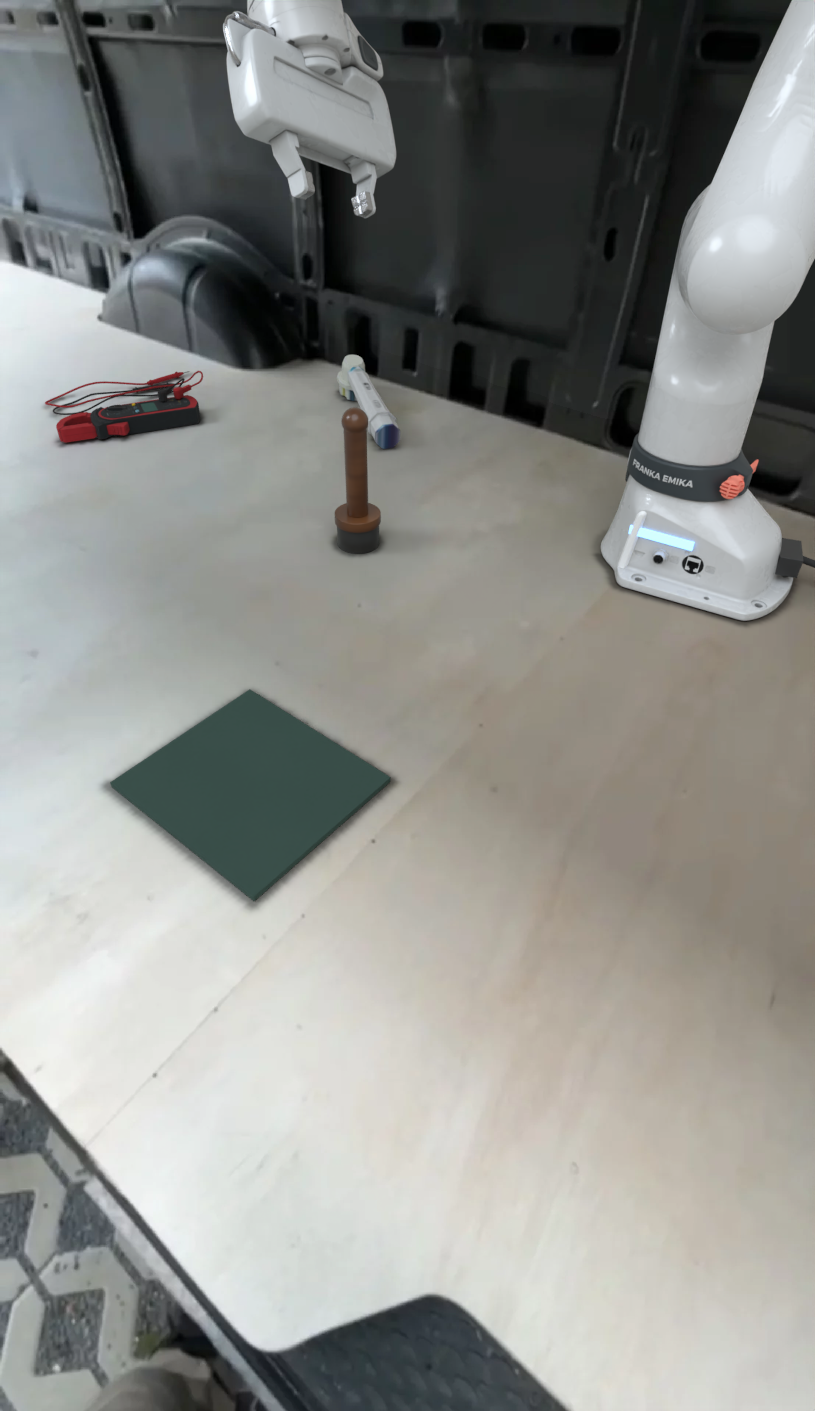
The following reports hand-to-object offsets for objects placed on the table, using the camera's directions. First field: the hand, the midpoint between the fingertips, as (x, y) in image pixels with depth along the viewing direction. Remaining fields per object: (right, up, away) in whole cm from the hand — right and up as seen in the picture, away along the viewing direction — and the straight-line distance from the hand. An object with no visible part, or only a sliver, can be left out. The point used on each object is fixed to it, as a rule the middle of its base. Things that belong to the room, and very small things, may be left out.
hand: (336, 206), depth 77 cm
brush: (+1, -28, +22) cm, 36 cm away
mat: (-7, -56, -8) cm, 57 cm away
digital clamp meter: (-38, -1, +52) cm, 64 cm away
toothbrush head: (+1, -2, +51) cm, 51 cm away
